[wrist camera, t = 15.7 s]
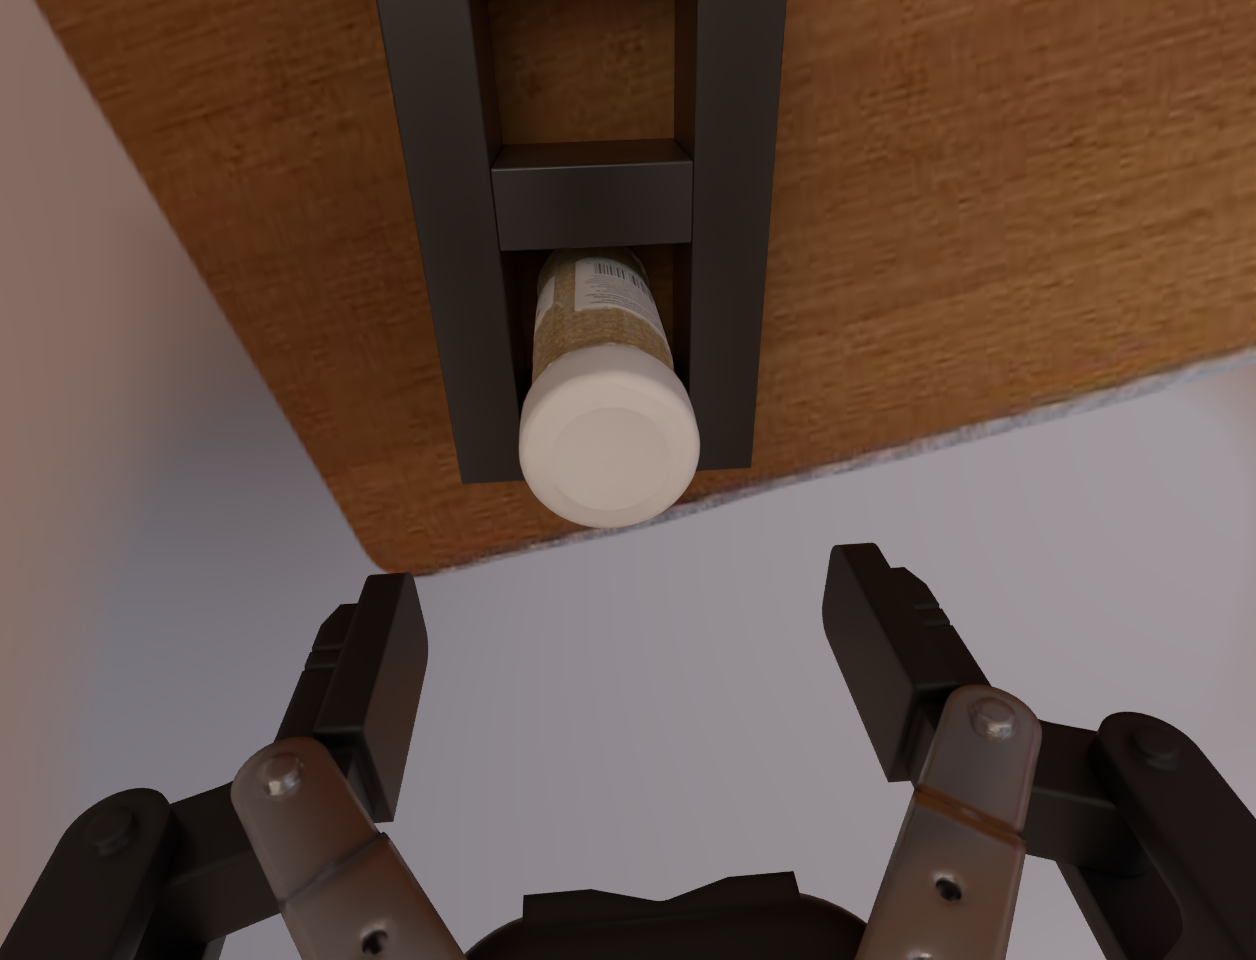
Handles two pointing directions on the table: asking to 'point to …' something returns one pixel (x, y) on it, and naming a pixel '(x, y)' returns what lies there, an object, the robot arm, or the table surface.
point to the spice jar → (604, 395)
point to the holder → (590, 212)
